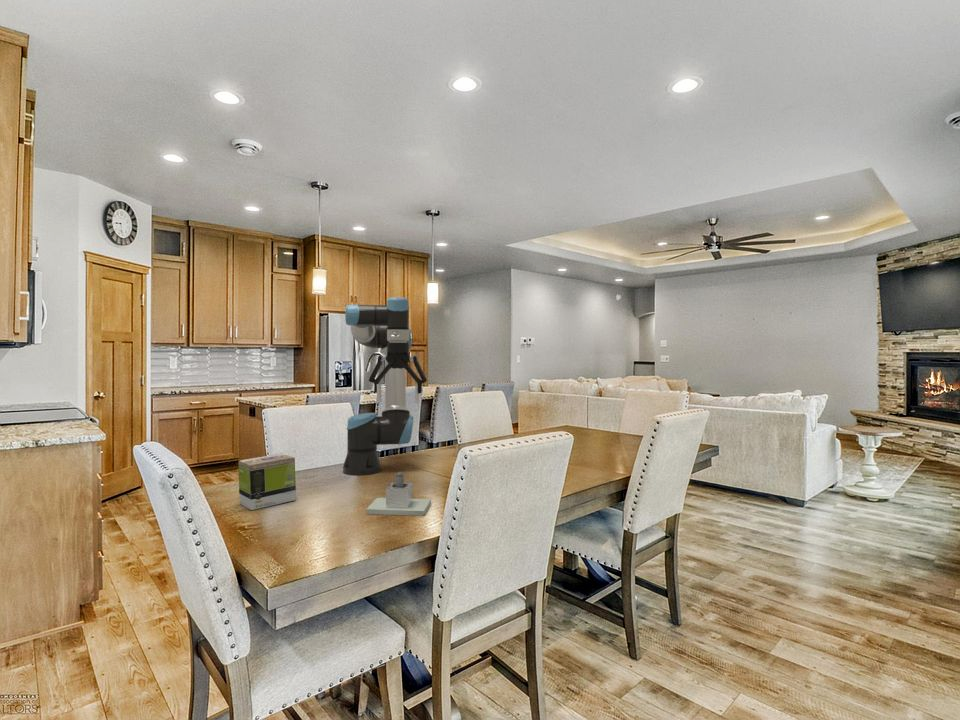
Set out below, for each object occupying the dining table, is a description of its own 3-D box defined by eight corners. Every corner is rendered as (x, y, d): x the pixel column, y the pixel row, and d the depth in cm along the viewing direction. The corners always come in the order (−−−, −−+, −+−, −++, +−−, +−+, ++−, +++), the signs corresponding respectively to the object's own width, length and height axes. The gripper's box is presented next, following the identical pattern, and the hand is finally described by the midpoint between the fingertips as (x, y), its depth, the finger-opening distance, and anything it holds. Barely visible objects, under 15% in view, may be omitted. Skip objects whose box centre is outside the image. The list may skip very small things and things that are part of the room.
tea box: (283, 494, 180) (283, 452, 180) (296, 501, 173) (296, 457, 172) (238, 504, 170) (237, 459, 169) (250, 511, 162) (249, 464, 162)
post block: (377, 502, 172) (377, 466, 172) (430, 503, 171) (431, 468, 170) (366, 513, 160) (366, 476, 160) (423, 515, 159) (423, 477, 158)
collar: (391, 500, 169) (391, 482, 169) (412, 501, 168) (412, 482, 168) (385, 507, 162) (385, 488, 162) (407, 508, 161) (407, 488, 161)
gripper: (359, 341, 179) (359, 403, 180) (431, 342, 177) (431, 404, 178) (366, 341, 187) (366, 400, 188) (435, 342, 185) (434, 401, 185)
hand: (397, 402), depth 183 cm, fingers open, 13 cm apart
